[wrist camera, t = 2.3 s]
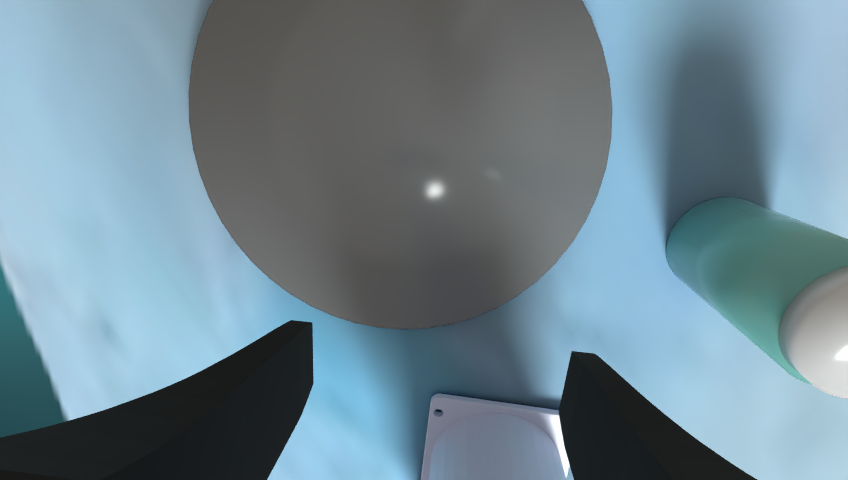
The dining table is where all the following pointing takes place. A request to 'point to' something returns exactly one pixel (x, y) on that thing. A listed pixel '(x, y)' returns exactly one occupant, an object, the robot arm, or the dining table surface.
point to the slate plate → (401, 147)
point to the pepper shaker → (770, 284)
